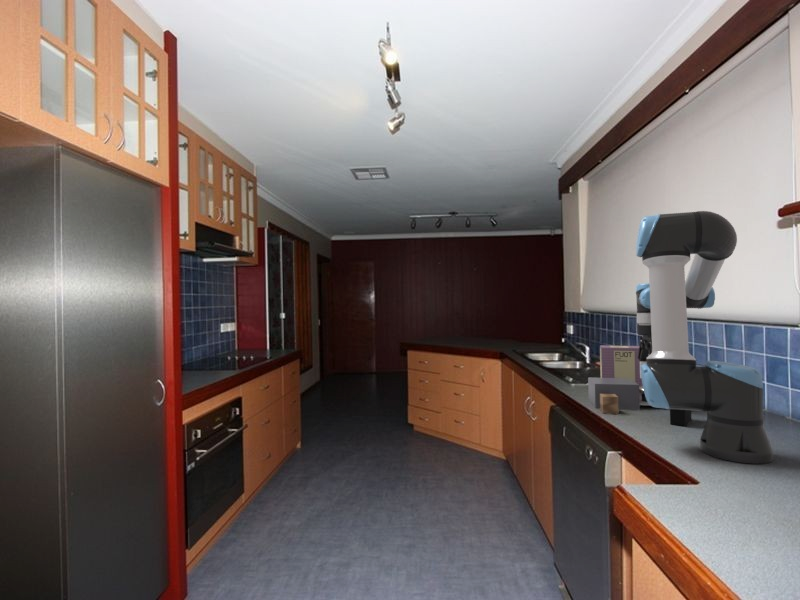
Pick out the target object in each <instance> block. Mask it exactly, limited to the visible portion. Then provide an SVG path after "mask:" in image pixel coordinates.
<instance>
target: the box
mask: <svg viewBox="0 0 800 600" xmlns="http://www.w3.org/2000/svg"><path fill="white" fill-rule="evenodd" d="M638 352H639V345H602V344H601V345H599V360H600V361H599V365H600V366H599V368H600V369H599V370H600V378H629V379H631V380H632V381H634V382H636V383H637V384H639V387H641V386H643V384H642V378H640V362H641V361H639V359H638ZM645 362H647V361H645ZM639 396H640V397H641V393H639Z"/></svg>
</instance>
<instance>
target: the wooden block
mask: <svg viewBox="0 0 800 600" xmlns="http://www.w3.org/2000/svg"><path fill="white" fill-rule="evenodd" d="M599 410H600V412H601V413H602V414H604V415H605V414H608V415H619V409H618V396H616V395H615V394H600V408H599Z"/></svg>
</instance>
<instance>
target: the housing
mask: <svg viewBox="0 0 800 600" xmlns="http://www.w3.org/2000/svg"><path fill="white" fill-rule="evenodd" d="M587 383H588V384H587V388H588V402H590V404H591V405H592V404H593V405H594V406H593V405H592V406H593V407H594V408H595V409H600V394H615V395H616V396H618V410H639V411H640V410H641V405H640V396H639V384H637V383H636V382H634V381H632V380H631V379H629V378H601V377H588V378H587Z"/></svg>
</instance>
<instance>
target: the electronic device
mask: <svg viewBox="0 0 800 600" xmlns="http://www.w3.org/2000/svg"><path fill="white" fill-rule="evenodd" d="M669 421H670V425H673V426H674V425H675V426H679V427H680V426H681V427H687V426H688V424H689V423H690V422H692V410H680V409H669Z"/></svg>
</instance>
